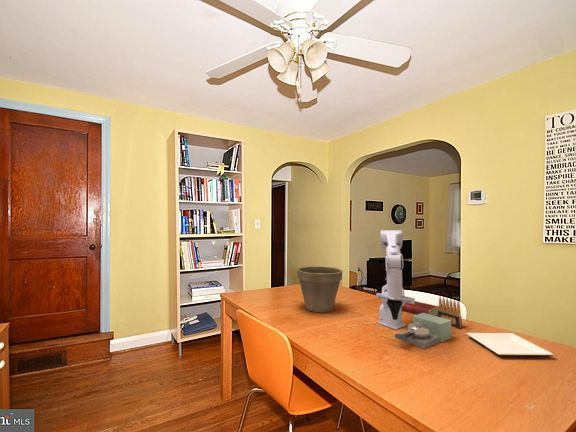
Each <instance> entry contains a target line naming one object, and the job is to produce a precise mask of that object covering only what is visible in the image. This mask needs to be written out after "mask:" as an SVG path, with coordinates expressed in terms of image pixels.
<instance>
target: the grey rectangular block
mask: <svg viewBox="0 0 576 432" xmlns="http://www.w3.org/2000/svg"><path fill="white" fill-rule="evenodd" d="M416 322H419V323H421V324H423V325H426V326H428V327H429V328H430V337H429V338H425V339H421V338H415V337H412V336H410V337H408V338H407V341H404V342H405V343H408V344H411V345H414V346H416V347H418V348H420V349H421V348H422V349H424V350H425V349H427V348H430V347H432V346H434V345H436V344H439V343H443V342H445V341H447V340H449V339H452V337H453V336H452V334H453V333H452V326H451V320H448V319H445V318H441V317H438V315H430V314H426V313H421V314H417V315H415V314H413V316H412V323H416ZM407 332H408V330H405V331H402V332H400V333H398V334H400V335H402V334H404V333H407ZM399 340H400V341H402V340H401V339H399Z"/></svg>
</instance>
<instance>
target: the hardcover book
mask: <svg viewBox="0 0 576 432" xmlns="http://www.w3.org/2000/svg"><path fill="white" fill-rule="evenodd" d="M438 311H439V308H438V305H435V304H429V303H425V302H421V301H416V300H415V303H414V304H411V303H406V302H405V305H404V306H402V312H404V313H408V314H411V313H412V314H413V315H415V314H416V315H417V314H421V313H426V314H430V315H434V316H438Z"/></svg>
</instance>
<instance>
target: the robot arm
mask: <svg viewBox="0 0 576 432" xmlns="http://www.w3.org/2000/svg"><path fill="white" fill-rule="evenodd" d="M403 235H404V234H403V231H402V230H401V229H398V230H391V229H389V230H384V229H381V230H380V243H381V246H380V247H381V248H382V249H383V250H385V270H386V284H385V285H383V286H382V287H381V292H380V293H379V292H377V293H376V294H375V299H377V300H378V299H379V300H380V299H381V303H382V304H380V306H379V309H378V311H379V320H378V322H377V323H378V324H379V325H382V326H384V327H387V328H391V329H394V330H399V329H400V328H401V329H402V328H404V327H406V326H407V324H406V323H403V315H402V314H403V313H402V312H403V311H402V306H404V305H405V302H406V303H411V304H414V303H415V301H416V298H415V297H410V296H406V295H405V289H404V288H403V269H404V257H403V254H402V253H401V249H402V247H403V241H404V239H403V237H404V236H403Z"/></svg>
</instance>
